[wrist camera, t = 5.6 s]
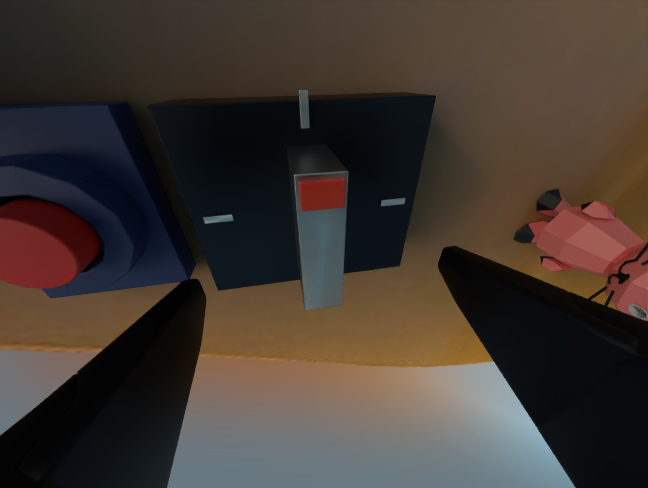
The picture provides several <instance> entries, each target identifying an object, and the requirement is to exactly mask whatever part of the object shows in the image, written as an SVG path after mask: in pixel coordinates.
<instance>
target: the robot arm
mask: <svg viewBox="0 0 648 488" xmlns="http://www.w3.org/2000/svg"><path fill="white" fill-rule="evenodd" d="M438 268H439V271H440V273H441V275H442V277H443V279H444V281H445V283H446V285H447V287H448V288H449V290H450V292H451V294H452V296H453V298H454V300H455V302H456V304H457V305H458V307H459V308H460V310H461V311H462V313H463V315H464V316H465V318H466V319H467V321H468V322H469V324H470V325H471V327H472V328H473V330H474V331H475V333H476V335H477V336H478V338H479V339H480V341H481V342H482V344H483V345H484V347H485V348H486V350H487V352H488V353H489V355H490V356H491V358H492V359H493V361H494V362H495V364H496V365H497V367H498V368H499V370H500V372H501V373H502V374H503V376H504V378H505V379H506V381H507V382H508V384H509V385H510V387H511V388H512V390H513V392H514V393H515V395H516V396H517V398H518V399H519V401H520V402H521V404H522V405H523V407H524V408H525V410H526V412H527V413H528V415H529V416H530V418H531V419H532V421H533V422H534V424H535V425H536V427H538V428H537V429H538V430H539V432H540V433H541V435H542V437H543V438H544V440H545V441H546V443H547V444H548V446H549V447H550V449H551V450H552V452H553V454H554V455H555V457H556V458H557V460H558V461H559V463H560V464H561V466H562V467H563V469H564V471H565V472H566V474H567V475H568V477H569V478H570V480H571V481H572V483H573V484H574V486H575V487H576V488H648V321H646V320H643V319H640V318H637V317H634V316H632V315H629V314H626V313H623V312H621V311H618V310H615V309H613V308H610V307H607V306H604V305H602V304H599V303H597V302H594V301H592V300H589V299H587V298H584V297H581V296H579V295H577V294H574V293H572V292H567V291H566V290H564V289H561V288H559V287H556V286H554V285H551V284H549V283H546V282H544V281H542V280H539V279H537V278H534V277H532V276H529V275H527V274H524V273H522V272H519V271H517V270H514V269H512V268H509V267H507V266H504V265H502V264H499V263H497V262H494V261H492V260H489V259H487V258H484V257H482V256H479V255H477V254H474V253H472V252H469V251H467V250H464V249H462V248H459V247H457V246H450V247H445V248H444V249H443V250H442V253H441V256H440V259H439V262H438ZM205 309H206V295H205V293H204V291H203V288H202V286H201V284H200V282H199V280H198V279H188V280H184V281H182V282H181V283H180V284H179V285H178V286H177V287H175V288H174V289H173V290H172V291H171V292H170V293H168V294H167V295H166V296H165V297H164V298H163V299H161V300H160V301H159V302H158V303H157V304H156V305H154V306H153V307H152V308H151V309H150V310H149V311H148V312H146V313H145V314H144V315H143V316H142V317H141V318H139V319H138V320H137V321H136V322H135V323H134V324H132V325H131V326H130V327H129V328H128V329H127V330H125V331H124V332H123V333H122V334H121V335H120V336H118V337H117V338H116V339H115V340H114V341H113V342H111V343H110V344H109V345H108V346H107V347H106V348H105V349H103V350H102V351H101V352H100V353H99V354H98V355H96V356H95V357H94V358H93V359H92V360H91V361H90V362H88V363H87V364H86V365H85V366H84V367H82V368H81V369H80V370H79V371H78V373H77V374H75V375H73V376H72V377H71V378H70V379H68V380H67V381H66V382H65V383H64V384H63V385H61V386H60V387H59V388H58V389H57V390H56V391H54V392H53V393H52V394H51V395H50V396H48V398H46V399H45V400H44V401H43V402H41V403H40V404H39V405H38V406H36V408H34V409H33V410H32V411H30V412H29V413H28V414H27V415H25V416H24V417H23V418H22V419H20V420H19V421H18V422H17V423H15V424H14V425H13V426H12V427H10V428H9V429H8V430H7V431H5V432H4V433H3V434H2V435H0V488H167V485H168V481H169V477H170V472H171V468H172V464H173V460H174V456H175V452H176V447H177V443H178V439H179V435H180V430H181V427H182V423H183V418H184V414H185V410H186V406H187V402H188V398H189V393H190V389H191V385H192V381H193V377H194V373H195V368H196V364H197V360H198V356H199V352H200V347H201V342H202V335H203V326H204V317H205Z"/></svg>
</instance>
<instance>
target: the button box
mask: <svg viewBox="0 0 648 488" xmlns="http://www.w3.org/2000/svg"><path fill="white" fill-rule="evenodd" d="M22 199H37V200H44V201H48V202H52V203H56V204H59V205H61V206H64V207H66V208H68V209H70V210H71V211H73V212H74V213H76V214H77V215H79V216H80V217H82V218H83V219H85V220H86V221H88V222H89V223H90V224H91V225H92V227H93V228H94V229H95V231H96V232H97V234H98V236H99V239H100V251H99V253H98V255H97V256H96V257H95V258H94V259H93V260H92V261H91V262H90V264H89V265H88V266H87V267H86V268H85V269H84V270H83V271H82V272H81V273H80V274H79V275H78V276H77V277H76V278H75V279H73V280H72V281H71V282H69V283H67V284H65V285H62V286H59V287H54V288H41V289H42V290H43V291H44V292H45V293H46V294H47V295H48V296H49V297H50V298H57V297H65V296H73V295H81V294H88V293H96V292H104V291H112V290H120V289H127V288H135V287H143V286H151V285H159V284H166V283H174V282H182V281H184V280H188V279H190V277H191V275H192V273H193V270H194V268H195V265H196V264H195V262H194V259H193V257H192V255H191V252H190V250H189V247H188V245H187V243H186V240H185V238H184V236H183V233H182V231H181V228H180V226H179V224H178V221H177V219H176V217H175V214H174V212H173V209H172V207H171V205H170V202H169V200H168V198H167V195H166V193H165V190H164V188H163V186H162V183H161V181H160V179H159V176H158V174H157V171H156V169H155V167H154V164H153V162H152V160H151V157H150V155H149V152H148V150H147V148H146V145H145V143H144V141H143V138H142V136H141V133H140V131H139V129H138V126H137V124H136V122H135V119H134V117H133V114H132V112H131V110H130V107H129V105H128V103H127V102H125V101H121V102H89V103H58V104H26V105H0V207H1V206H3V205H5V204H7V203H9V202H12V201H16V200H22Z"/></svg>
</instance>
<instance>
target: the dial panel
mask: <svg viewBox="0 0 648 488" xmlns="http://www.w3.org/2000/svg"><path fill="white" fill-rule="evenodd" d="M435 98H436V96H435V95H425V94H416V93H406V92H405V93H373V94H341V95H310V96H308V90H299V96H278V97H246V98H215V99H183V100H171V101H166V102H161V103H157V104H152V105H148V108H149V111H150V113H151V116H152V119H153V121H154V124H155V126H156V129H157V132H158V134H159V137H160V139H161V142H162V145H163V147H164V150H165V153H166V155H167V158H168V160H169V163H170V166H171V168H172V171H173V173H174V176H175V179H176V181H177V184H178V187H179V189H180V192H181V194H182V197H183V200H184V202H185V205H186V207H187V210H188V213H189V215H190V218H191V221H192V223H193V226H194V228H195V231H196V234H197V236H198V239H199V242H200V244H201V247H202V249H203V252H204V255H205V257H206V260H207V262H208V265H209V268H210V270H211V273H212V276H213V278H214V281H215V283H216V286H217V289H218V290H226V289H234V288H241V287H249V286H256V285H263V284H271V283H278V282H285V281H293V280H300V274H299V267H298V260H297V249H296V238H295V227H294V216H293V205H292V194H291V184H290V173H289V162H288V151H287V146H299V145H319V144H326V145H327V146H328V147H329V149H330V150H331V151H332V152H333V153H334V155H335V156H336V157H337V158H338V159H339V161H340V162H341V163H342V164H343V165H344V167H345V168H346V169H347V170H348V192H347V212H346V232H345V251H344V271H343V274H344V273H352V272H359V271H366V270H374V269H381V268H389V267H396V266H400V262H401V258H402V253H403V248H404V243H405V239H406V234H407V229H408V225H409V220H410V215H411V211H412V206H413V201H414V197H415V192H416V187H417V182H418V178H419V173H420V168H421V164H422V159H423V154H424V150H425V145H426V140H427V136H428V131H429V126H430V121H431V117H432V112H433V107H434V103H435Z"/></svg>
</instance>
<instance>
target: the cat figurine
mask: <svg viewBox="0 0 648 488" xmlns="http://www.w3.org/2000/svg"><path fill="white" fill-rule="evenodd" d="M537 211H538V212H540V213H542V214H544V215H547V216H554V217H555V218H554V219H553V220H552V221H551V222H546V221H539V222H534V223H529V224H527V225H525V226H524V227H523V228H521V229H520V230H518V231H517V232H516V234H515V237H514V240H516V241H518V242H520V243H534V242H537V244H536V247H538V248H539V249H541V250H543V251H544V252H546V253H548V254H549V255H551V256H552V257H547V256H540V258H541V264H542V266H543V267H545V268H547V269H549V270H551V271H564V270H570V267H571V268H574V269H578V270H581V271H585V272H588V273H592V274H595V275H599V276H602V277H606V278H608V279H607V284H606V286H605V287H604V288H602V289H601V290H599V291H598V292H597V293H595V294H594V295H592V296H591V297H589V298H588V299H589V300H591V299H593V298H594V297H596V296H597V295H599V294H600V293H602V292H603V291H604V290H605V293H606V295H607V296H608V299H607V301H606V303H605V305H604V306H608V304H609V302H610V300H611V301H612V302H613V303H614V304H615V306H616V307H617V308H618V309H619V310H620V311H621V312H623V313H626V314H629V315H632V316H634V317H637V318H640V319H643V320H646V321H648V243H647V244H646V243H645V242H644V241H643V240H642V239H641V238H640V237H639V236H637V235H636V234H635V233H634V232H633V231H632V230H631V229H630V228H628V227H627V226H626V225H625V224H624V223H623V222H622V221H621V220H619V219H618V218H617V217H616V214H615V208H613V207H611V206H609V205H608V204H606V203H604V202H602V201H592V202H589V203H586V204H583V205H581V206H578V207H572V206H571V205H570V204H569V203H568V201H567V200H566V199H565V198H564V196H563V195H562V193H561V192H560V190H559V189H557V190H553V191H548V192H546V193H545V194H544V195H543V196H542V197H541V198H540V199H539V200H538V201H537Z"/></svg>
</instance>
